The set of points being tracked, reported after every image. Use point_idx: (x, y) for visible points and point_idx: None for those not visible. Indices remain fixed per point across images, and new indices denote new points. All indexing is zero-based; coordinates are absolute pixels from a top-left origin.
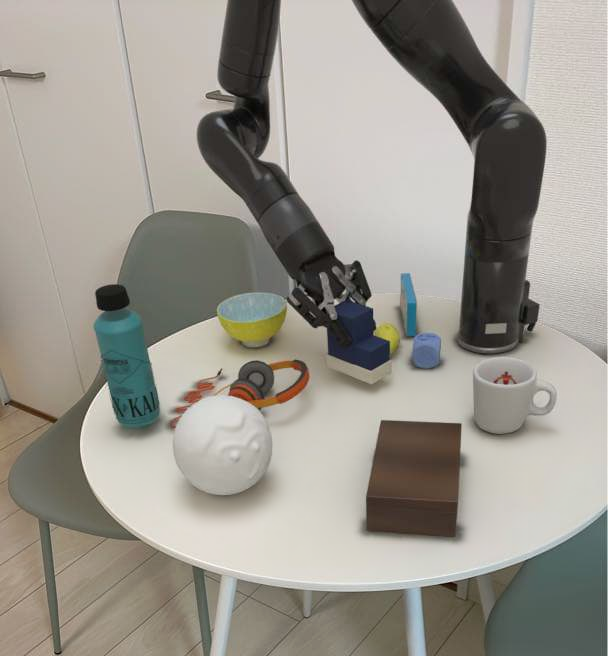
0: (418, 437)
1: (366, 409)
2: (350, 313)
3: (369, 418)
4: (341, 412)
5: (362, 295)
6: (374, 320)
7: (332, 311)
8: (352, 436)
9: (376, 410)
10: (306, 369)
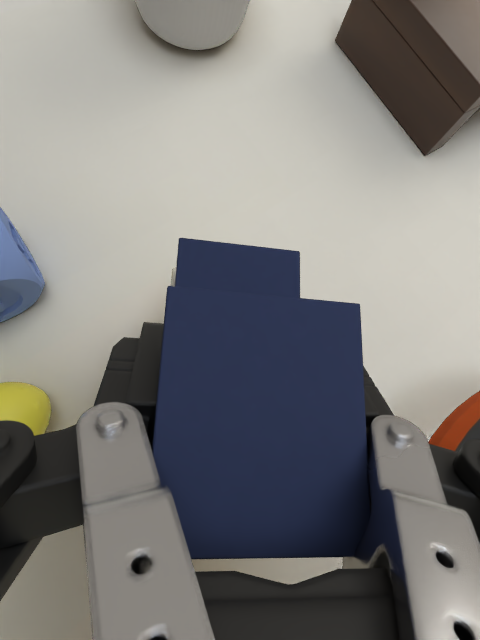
0: (472, 2)
1: (322, 274)
2: (311, 363)
3: (347, 244)
4: (373, 316)
5: (30, 480)
6: (112, 351)
7: (403, 457)
8: (424, 234)
9: (310, 251)
10: (475, 423)
